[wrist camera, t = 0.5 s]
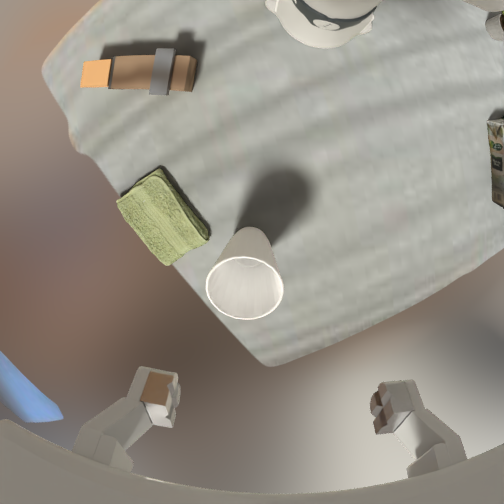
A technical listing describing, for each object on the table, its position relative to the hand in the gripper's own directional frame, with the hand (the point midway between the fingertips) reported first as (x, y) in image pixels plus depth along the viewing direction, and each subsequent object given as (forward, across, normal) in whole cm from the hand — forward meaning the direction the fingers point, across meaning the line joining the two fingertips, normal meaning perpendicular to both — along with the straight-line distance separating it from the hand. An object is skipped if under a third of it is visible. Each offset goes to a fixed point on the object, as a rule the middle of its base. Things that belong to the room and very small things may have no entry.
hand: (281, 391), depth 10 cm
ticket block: (+45, +21, -15) cm, 52 cm away
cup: (+45, +3, +17) cm, 48 cm away
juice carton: (+46, -53, -11) cm, 71 cm away
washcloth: (+46, +20, +13) cm, 52 cm away
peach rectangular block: (+45, +31, -16) cm, 57 cm away
